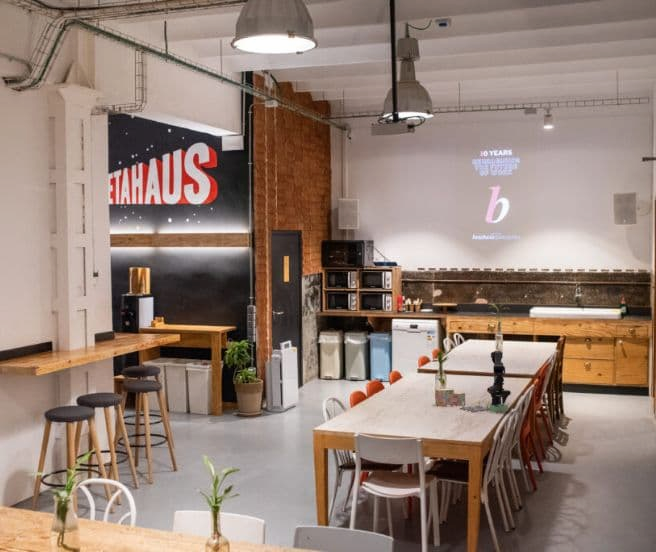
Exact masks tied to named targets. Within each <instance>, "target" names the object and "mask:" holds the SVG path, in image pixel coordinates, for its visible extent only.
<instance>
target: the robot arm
mask: <svg viewBox="0 0 656 552" xmlns="http://www.w3.org/2000/svg"><path fill="white" fill-rule="evenodd" d="M503 357H504V355H503V352H502V351H500V350H494V351H492V352H491V353H490V358H491V362H492V363H493V368H492V369H493V370H492V371H493V384H492V385H491V386H489V387H487V389H486V392H487V393H488V394H490V397H491V403H490V406H492V405H500V404H503V405H505V403H506V400H507V399H508V397H509V396H510V395H512V394H511V393H512V392H511V390H508V389H505V388H504V385H505V382H504V381H505V378H504V375H505V374H506V367H505V365H504V363H503V361H502V359H503Z"/></svg>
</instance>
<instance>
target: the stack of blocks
mask: <svg viewBox="0 0 656 552" xmlns="http://www.w3.org/2000/svg"><path fill="white" fill-rule="evenodd" d="M462 402H464V406H466V393H465V392H463V391H456V392H455V390H454V389H453V388H435V406H436V405H438V406H441V407H448V406H447V405H461V406H462ZM438 406H437V407H438Z"/></svg>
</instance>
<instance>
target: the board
mask: <svg viewBox="0 0 656 552" xmlns="http://www.w3.org/2000/svg"><path fill="white" fill-rule="evenodd" d="M489 408H490V410H489V411H490V412H492V411H493V412H492V413H500V412H507V411H509V405H507V404H502V403H501V404H500V405H489Z"/></svg>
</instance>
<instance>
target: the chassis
mask: <svg viewBox="0 0 656 552" xmlns="http://www.w3.org/2000/svg"><path fill="white" fill-rule="evenodd" d="M461 409H464V410H463V411H465V410H467V411H466V412H469V411H471V412H470V413H479V412H478V411H480V412H486V411H485V410H487V411H490V407H489V401H486V407H485V406H484V405H483V404H481V399H478V400H477V403H476V405H473V403H471V404H468V405H467V406H465V405H464V402H462V405H461V407H460V408H459V410H461Z"/></svg>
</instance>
